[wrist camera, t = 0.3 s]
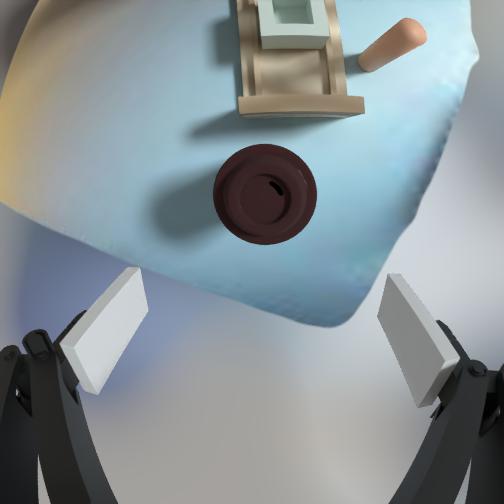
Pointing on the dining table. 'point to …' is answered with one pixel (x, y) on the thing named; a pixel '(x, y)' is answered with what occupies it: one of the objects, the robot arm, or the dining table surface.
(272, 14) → the block
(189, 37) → the dining table surface
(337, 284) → the dining table surface
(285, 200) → the coffee cup
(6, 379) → the robot arm
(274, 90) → the board
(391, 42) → the dowel
